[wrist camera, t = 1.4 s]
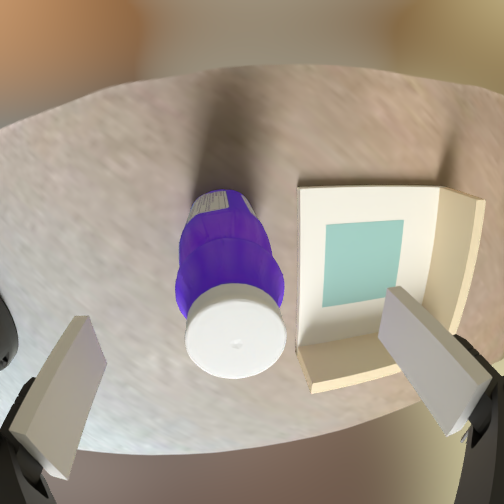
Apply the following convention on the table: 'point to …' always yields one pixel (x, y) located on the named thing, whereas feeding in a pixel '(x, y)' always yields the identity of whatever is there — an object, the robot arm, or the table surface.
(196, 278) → the bottle
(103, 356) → the robot arm
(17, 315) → the table surface
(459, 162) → the table surface
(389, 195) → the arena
